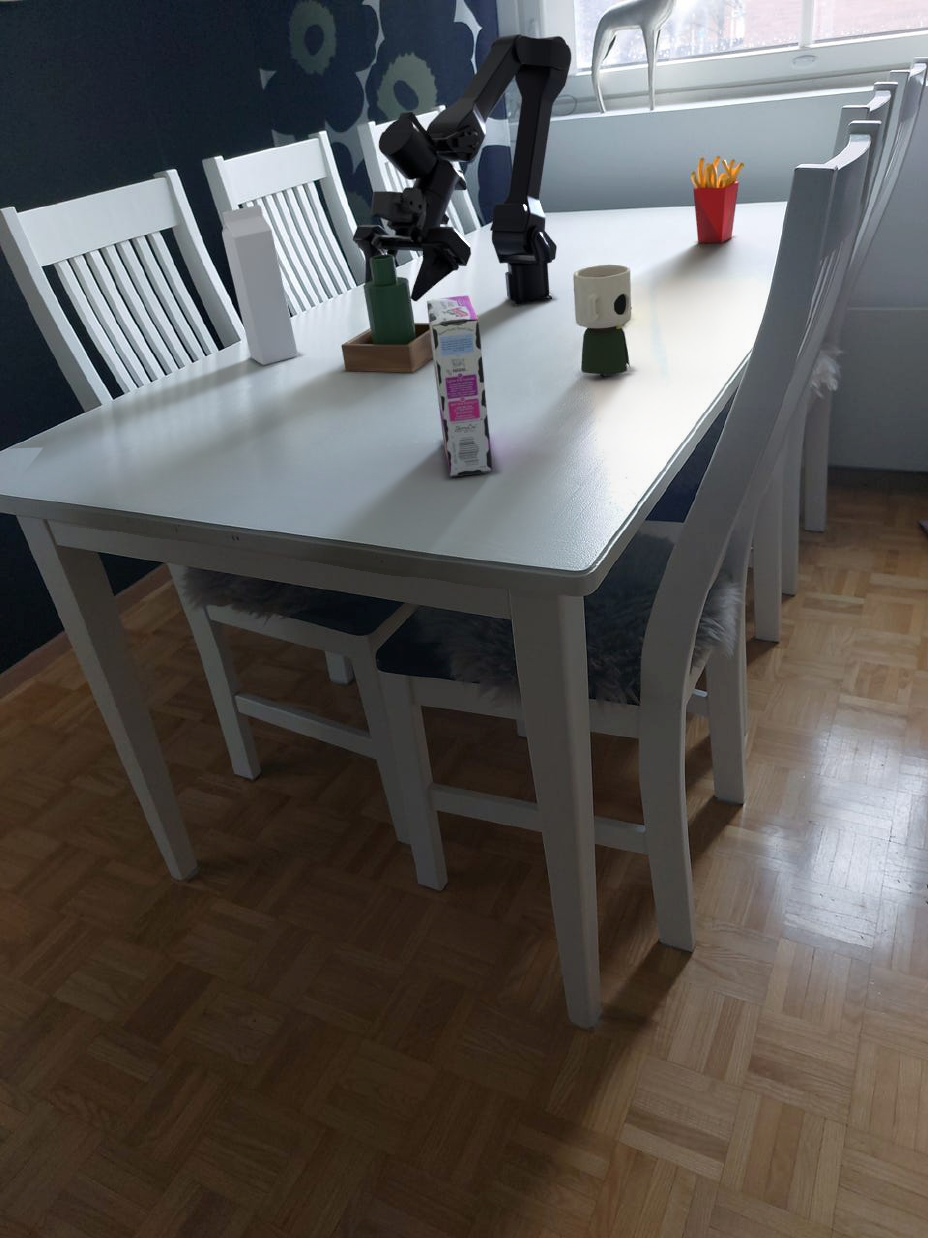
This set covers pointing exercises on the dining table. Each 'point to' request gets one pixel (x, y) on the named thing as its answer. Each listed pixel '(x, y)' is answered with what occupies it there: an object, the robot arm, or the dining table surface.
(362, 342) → the crate
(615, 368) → the character mug
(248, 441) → the dining table surface
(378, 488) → the dining table surface
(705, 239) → the french fries
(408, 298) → the bottle
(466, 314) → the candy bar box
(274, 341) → the milk
